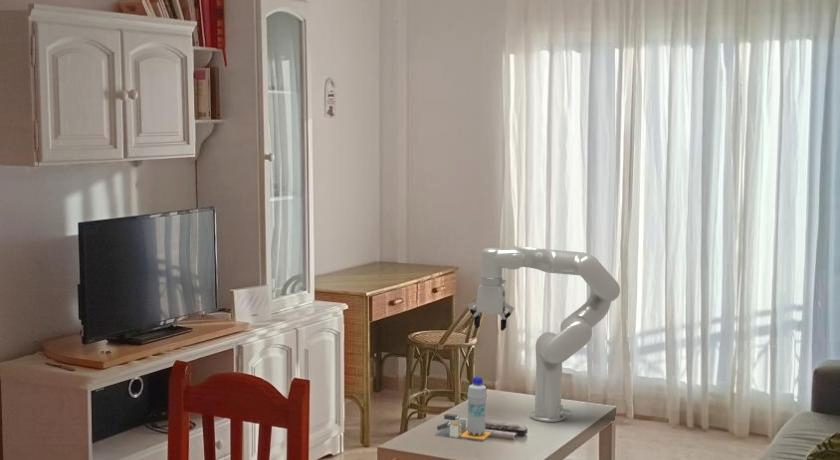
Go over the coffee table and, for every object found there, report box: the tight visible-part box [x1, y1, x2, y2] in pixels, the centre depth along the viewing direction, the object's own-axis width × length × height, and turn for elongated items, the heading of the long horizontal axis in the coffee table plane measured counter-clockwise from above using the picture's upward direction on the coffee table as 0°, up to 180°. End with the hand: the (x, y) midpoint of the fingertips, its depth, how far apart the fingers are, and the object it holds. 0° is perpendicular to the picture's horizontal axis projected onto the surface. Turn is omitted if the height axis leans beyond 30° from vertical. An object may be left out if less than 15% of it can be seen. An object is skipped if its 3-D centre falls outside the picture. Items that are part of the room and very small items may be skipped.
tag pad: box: [460, 430, 492, 441], centre depth 353 cm, size 8×8×1 cm
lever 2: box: [443, 413, 461, 421], centre depth 359 cm, size 5×3×1 cm, turn 69°
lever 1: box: [436, 421, 453, 432], centre depth 352 cm, size 5×3×1 cm, turn 68°
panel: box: [434, 416, 493, 443], centre depth 354 cm, size 17×13×6 cm
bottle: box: [467, 376, 488, 436], centre depth 352 cm, size 7×7×20 cm
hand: (490, 328), depth 374 cm, fingers open, 9 cm apart
